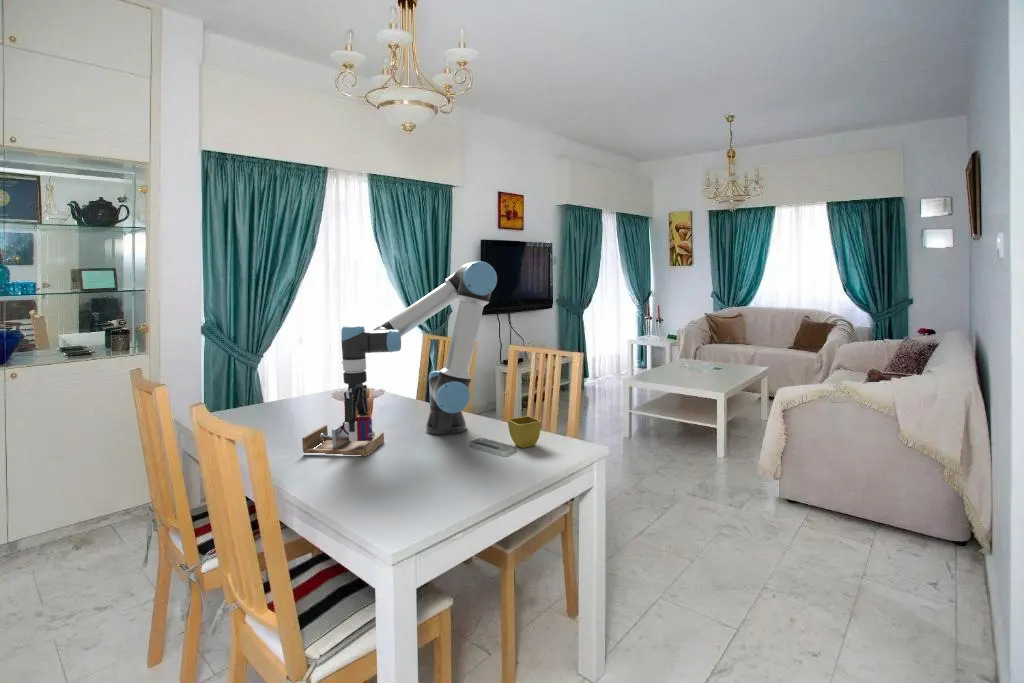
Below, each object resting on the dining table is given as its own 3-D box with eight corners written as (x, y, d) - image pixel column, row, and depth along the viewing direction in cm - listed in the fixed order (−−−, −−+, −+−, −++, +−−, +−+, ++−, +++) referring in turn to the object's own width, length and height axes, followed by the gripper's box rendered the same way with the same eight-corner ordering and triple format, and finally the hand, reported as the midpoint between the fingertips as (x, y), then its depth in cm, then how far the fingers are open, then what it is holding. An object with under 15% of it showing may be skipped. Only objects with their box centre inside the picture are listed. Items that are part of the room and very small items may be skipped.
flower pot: (519, 451, 180) (518, 424, 179) (507, 444, 187) (506, 419, 186) (542, 446, 184) (541, 421, 183) (529, 440, 191) (529, 415, 190)
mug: (367, 441, 181) (366, 421, 180) (339, 440, 183) (338, 420, 182) (375, 436, 188) (374, 416, 187) (348, 434, 189) (348, 415, 189)
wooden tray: (384, 442, 193) (383, 425, 192) (366, 456, 177) (365, 439, 176) (325, 441, 195) (324, 425, 195) (303, 455, 180) (302, 438, 179)
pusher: (351, 439, 192) (350, 420, 191) (336, 450, 180) (335, 429, 179) (329, 439, 193) (328, 419, 192) (313, 450, 181) (311, 429, 180)
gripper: (355, 366, 193) (359, 429, 195) (331, 376, 173) (334, 445, 176) (376, 366, 192) (379, 429, 194) (353, 376, 172) (356, 446, 175)
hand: (358, 437), depth 185 cm, fingers closed on mug, 7 cm apart
